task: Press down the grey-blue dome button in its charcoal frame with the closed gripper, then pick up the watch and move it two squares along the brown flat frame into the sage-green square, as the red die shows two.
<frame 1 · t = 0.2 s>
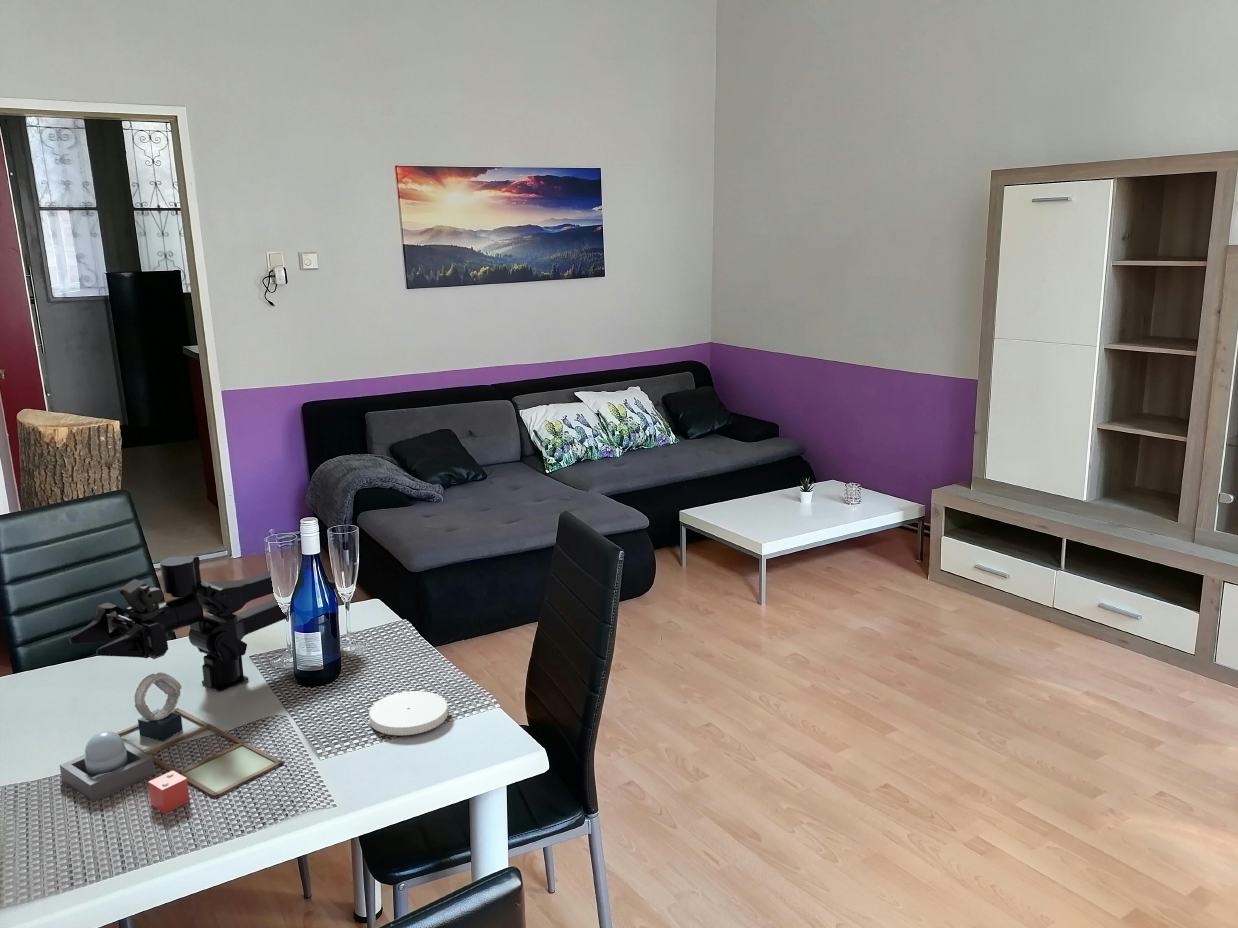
hand: (83, 646, 165), 17 cm above the table, tool horizontal, fingers open, 9 cm apart
watch: (161, 733, 170), on the table
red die: (170, 802, 149), on the table
dome button: (104, 748, 154), point 5 cm above the table, slide at 0.0 cm
brown flat frame: (194, 750, 164), on the table
dome frame: (108, 777, 156), on the table
plastic lid: (409, 722, 175), on the table
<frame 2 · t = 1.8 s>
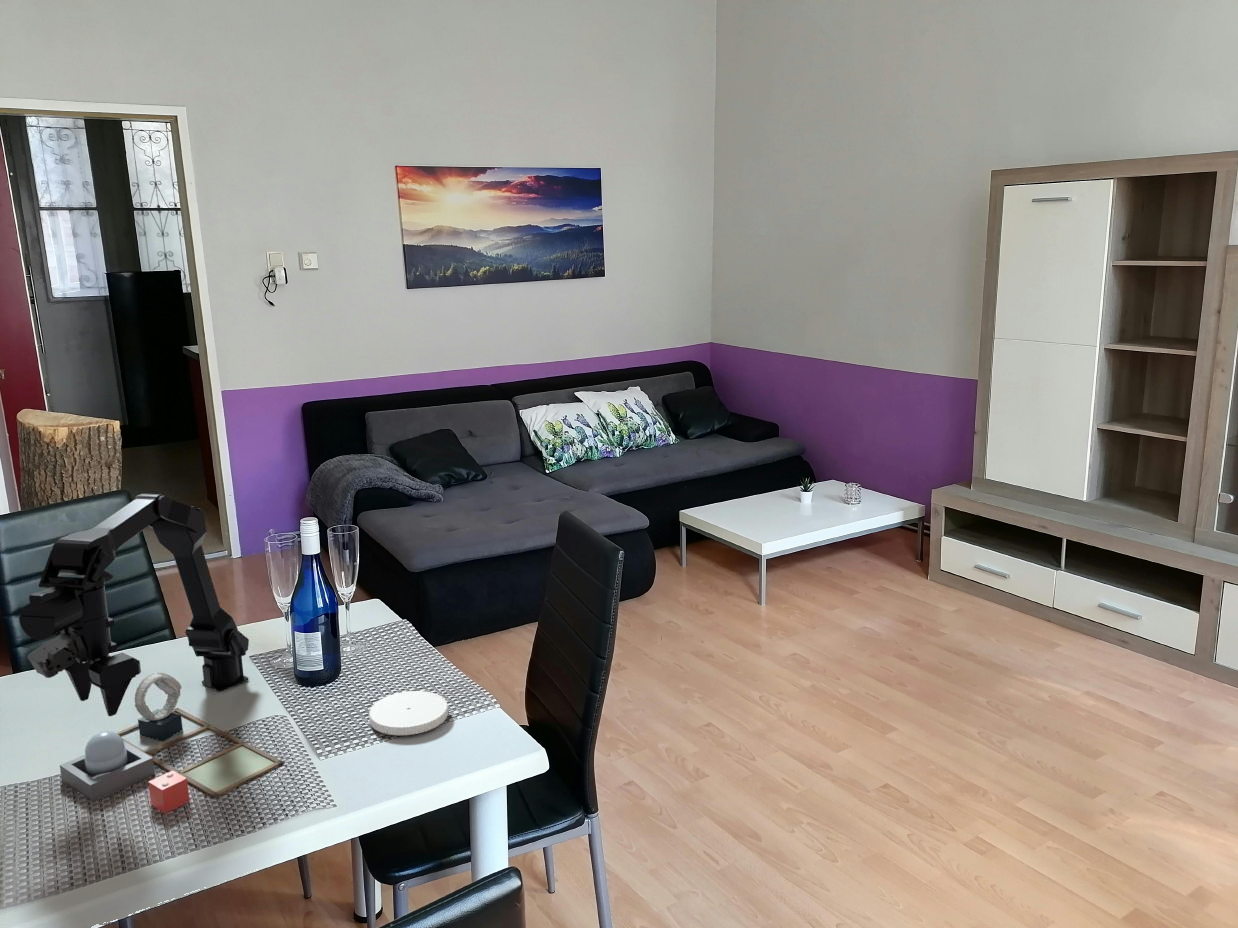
hand: (98, 707, 153), 13 cm above the table, tool pointing down, fingers open, 9 cm apart
nothing on the table moved.
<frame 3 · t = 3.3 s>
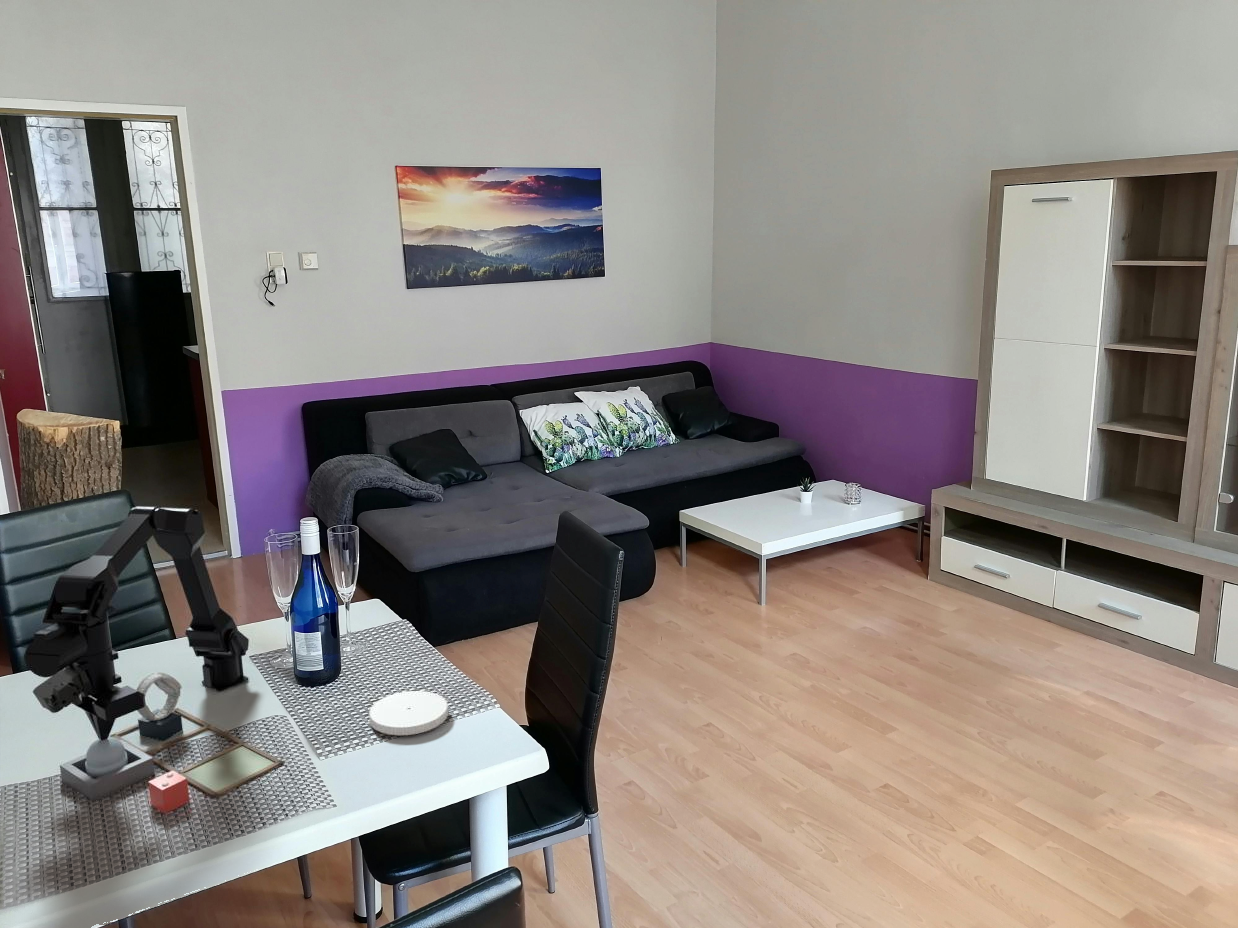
hand: (103, 738, 154), 7 cm above the table, tool pointing down, fingers closed, pressing on dome button
dome button: (105, 754, 155), point 4 cm above the table, slide at -1.0 cm, touching gripper
everything else where it was.
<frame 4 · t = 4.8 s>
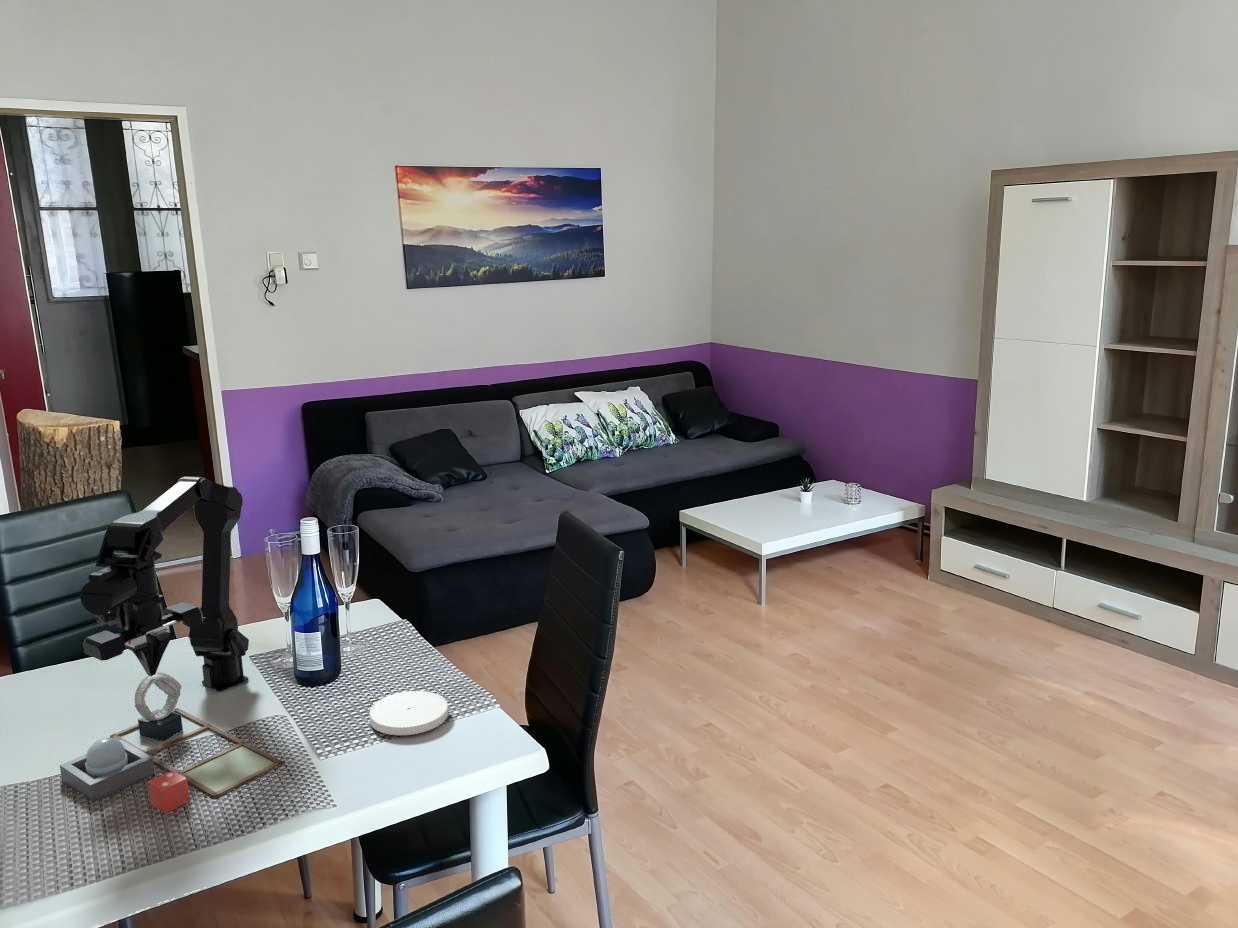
hand: (151, 674, 166), 12 cm above the table, tool pointing down, fingers closed
dome button: (105, 755, 155), point 4 cm above the table, slide at -1.1 cm
everything else where it was.
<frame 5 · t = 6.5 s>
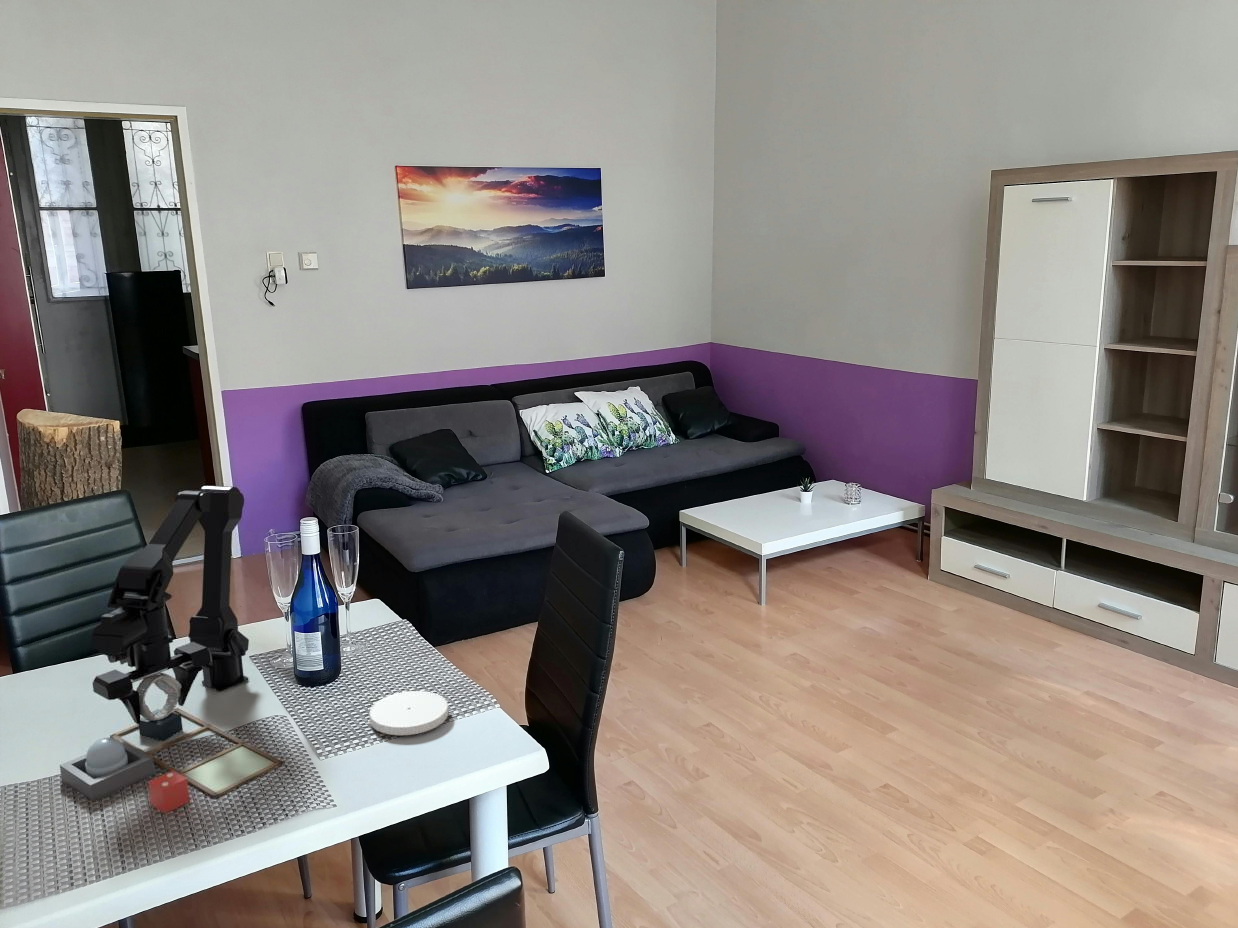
hand: (159, 713, 169), 4 cm above the table, tool pointing down, fingers closed on watch, 8 cm apart
watch: (161, 733, 170), on the table, touching gripper
everything else where it was.
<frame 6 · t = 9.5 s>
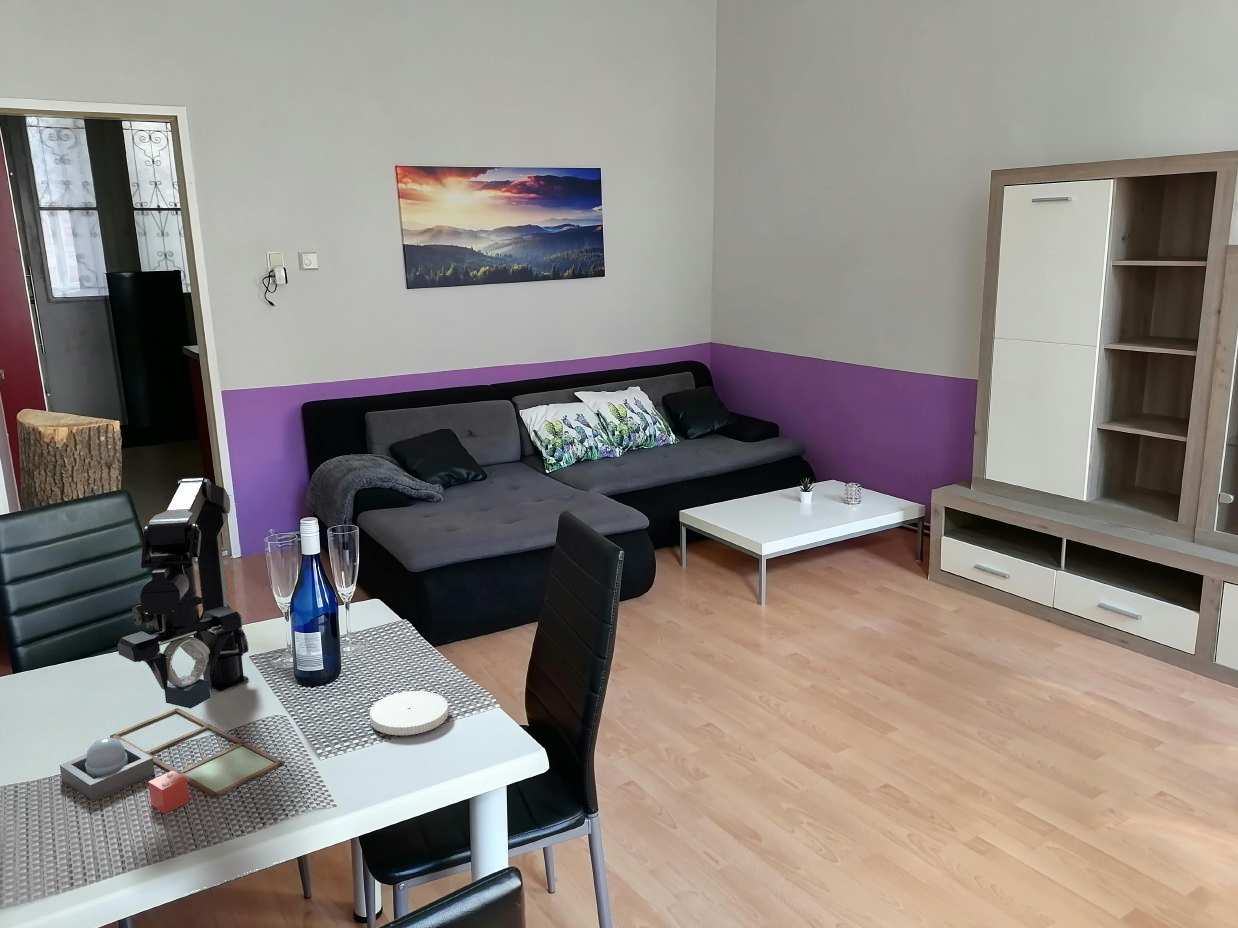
hand: (187, 680, 160), 13 cm above the table, tool pointing down, fingers closed on watch, 8 cm apart
watch: (188, 700, 161), point 10 cm above the table, touching gripper
everything else where it was.
when the fingers open (5 cm above the table, at t = 12.2 s): watch drops 1 cm, resting on brown flat frame.
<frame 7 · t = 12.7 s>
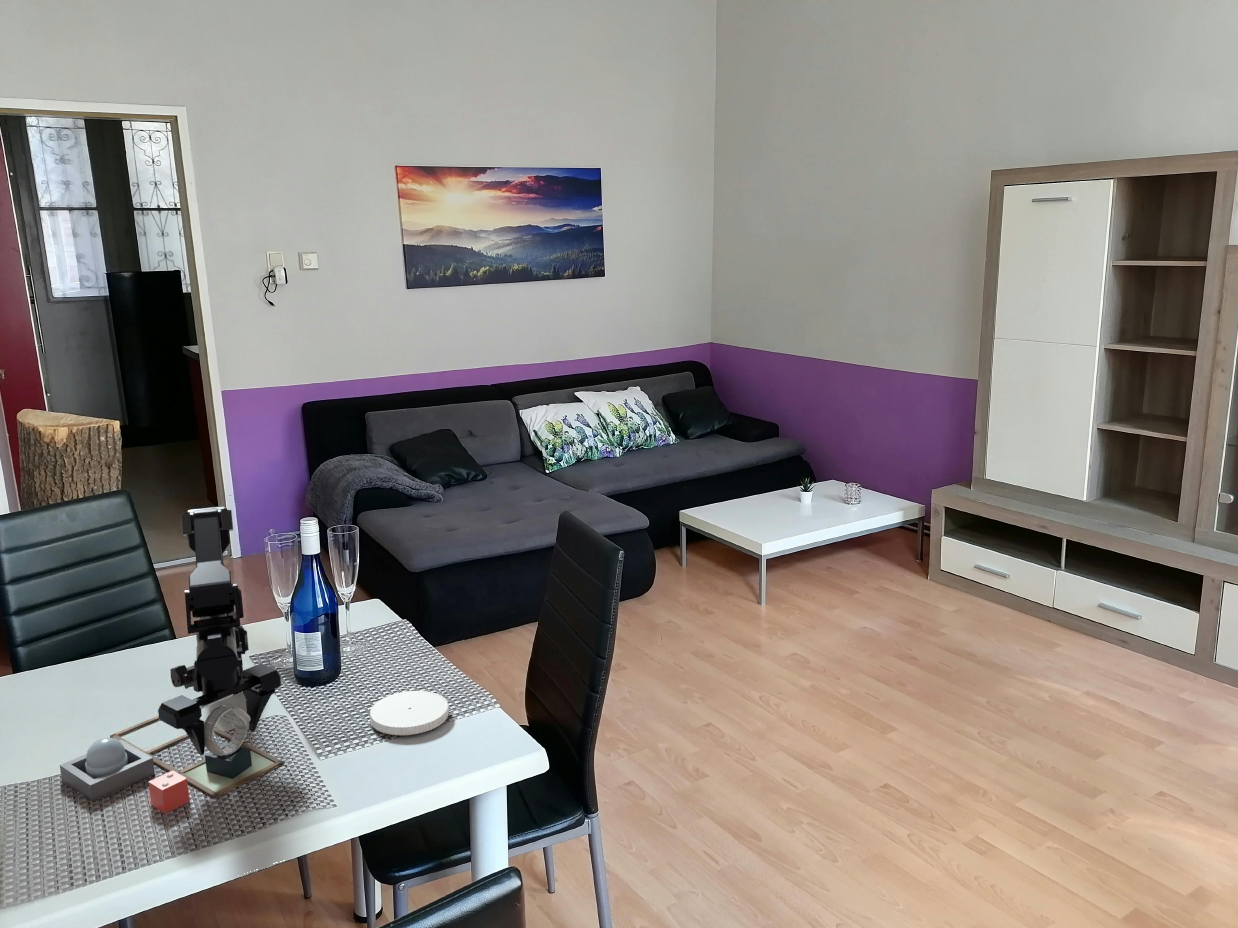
hand: (227, 741, 157), 5 cm above the table, tool pointing down, fingers open, 9 cm apart
watch: (229, 769, 158), resting on brown flat frame
everything else where it was.
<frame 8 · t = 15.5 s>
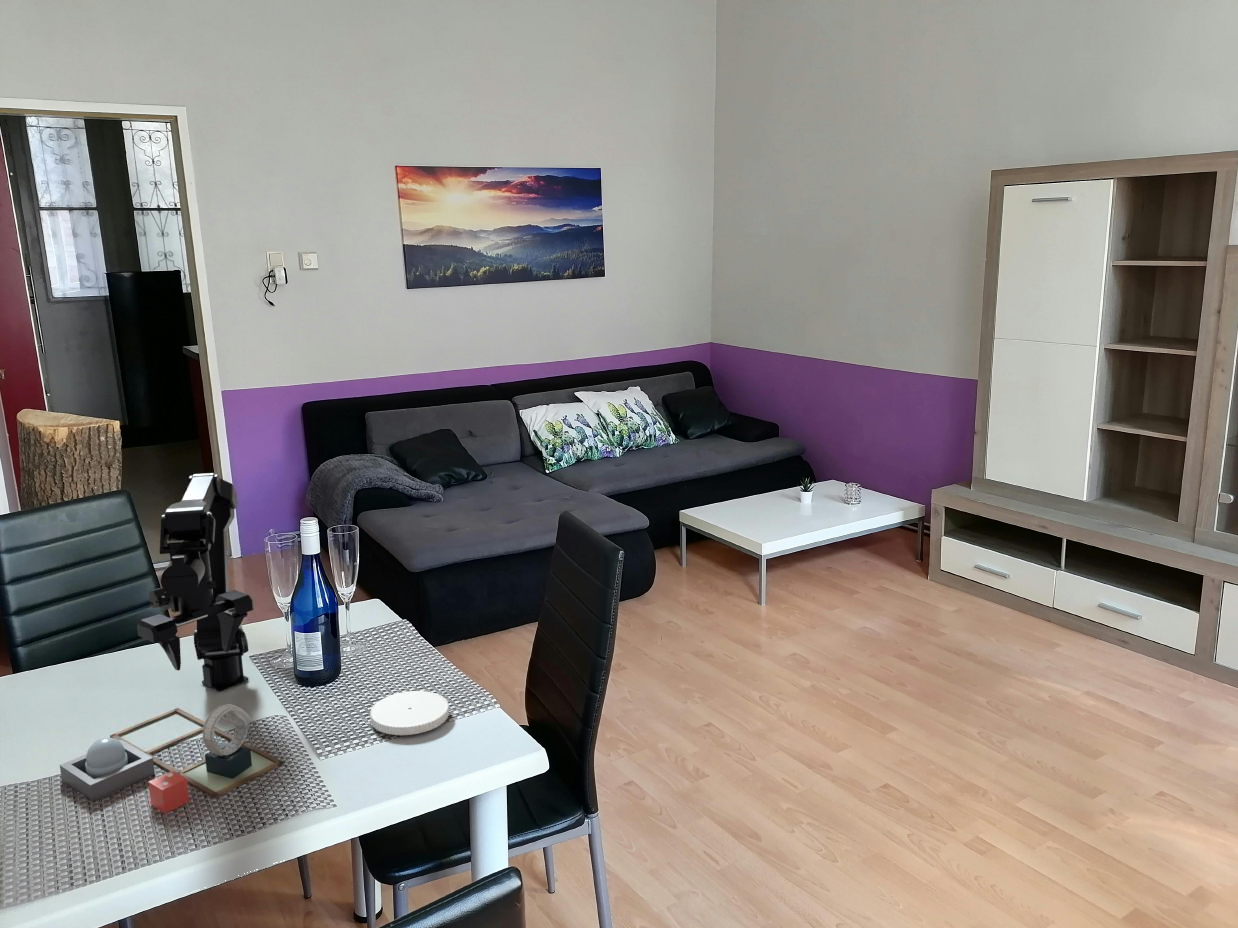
hand: (202, 660, 169), 13 cm above the table, tool pointing down, fingers open, 9 cm apart
nothing on the table moved.
at the end: dome button slide at -1.1 cm; watch inside the target area (0.1 cm from its centre), resting on brown flat frame; watch tilted 0° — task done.
